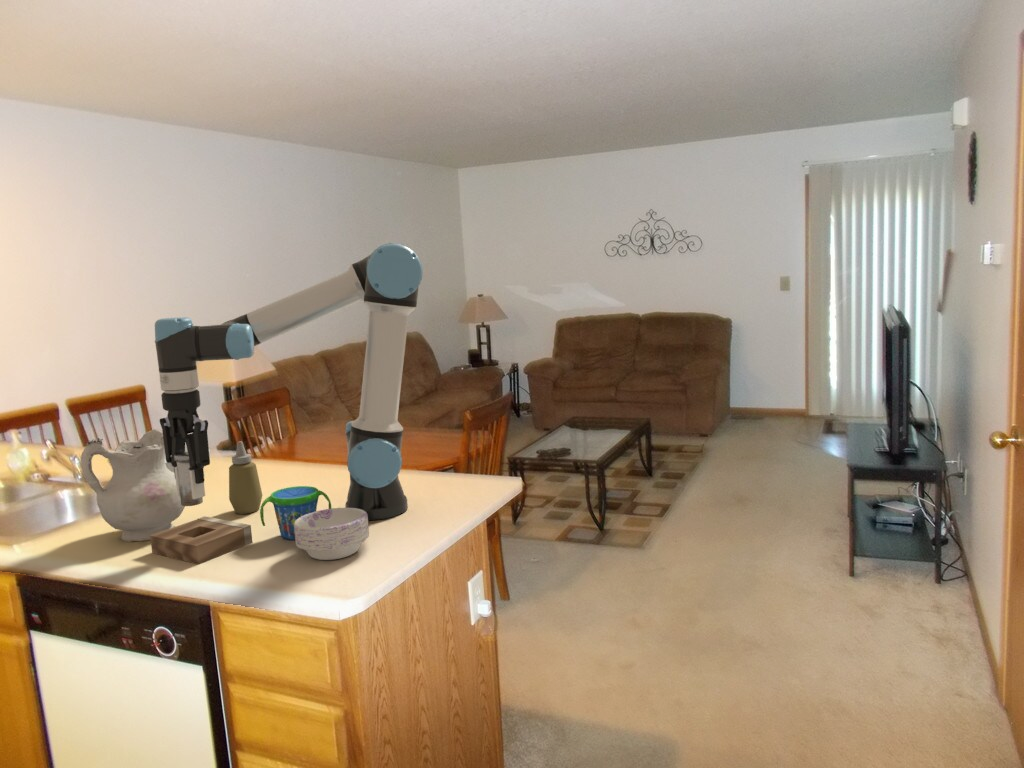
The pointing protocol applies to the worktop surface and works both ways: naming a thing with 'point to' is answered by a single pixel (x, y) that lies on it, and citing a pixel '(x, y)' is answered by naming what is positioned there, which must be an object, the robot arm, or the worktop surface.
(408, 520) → the worktop surface
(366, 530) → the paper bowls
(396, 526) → the worktop surface
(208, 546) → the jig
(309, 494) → the snack cup
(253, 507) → the squeeze bottle
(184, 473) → the metal capped cylinder
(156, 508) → the ceramic pitcher
